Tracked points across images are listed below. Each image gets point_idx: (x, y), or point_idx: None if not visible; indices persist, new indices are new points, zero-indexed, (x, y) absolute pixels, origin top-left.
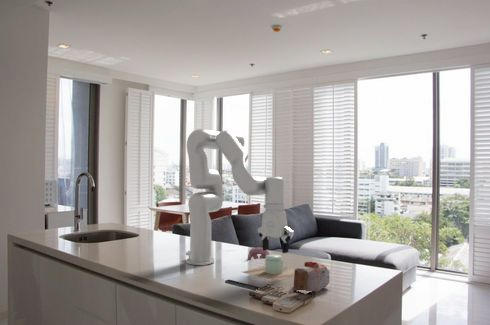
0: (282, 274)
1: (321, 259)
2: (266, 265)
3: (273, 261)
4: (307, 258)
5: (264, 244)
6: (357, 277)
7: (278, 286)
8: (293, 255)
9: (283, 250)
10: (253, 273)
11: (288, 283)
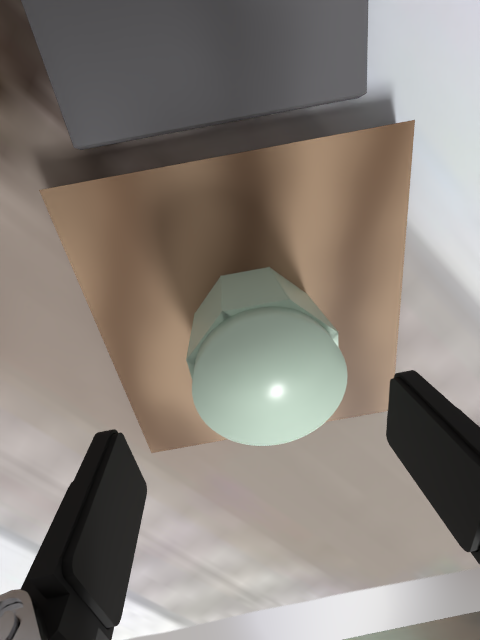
0: (171, 326)
1: (309, 597)
2: (273, 283)
3: (211, 324)
4: (357, 577)
5: (439, 432)
6: (23, 553)
7: (20, 160)
8: (428, 569)
9: (85, 455)
10: (316, 174)
11: (60, 270)
